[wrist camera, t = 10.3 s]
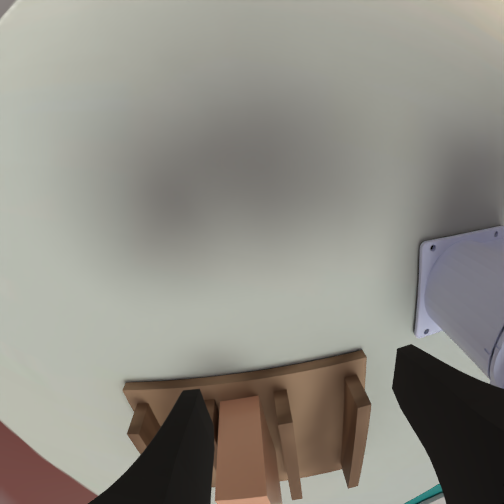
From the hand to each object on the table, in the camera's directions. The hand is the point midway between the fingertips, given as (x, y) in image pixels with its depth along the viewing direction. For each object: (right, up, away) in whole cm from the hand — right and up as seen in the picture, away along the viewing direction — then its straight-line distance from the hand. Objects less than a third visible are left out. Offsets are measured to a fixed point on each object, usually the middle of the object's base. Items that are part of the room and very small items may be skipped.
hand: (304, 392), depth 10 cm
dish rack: (-2, -12, +14) cm, 19 cm away
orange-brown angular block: (-2, -10, +13) cm, 16 cm away
